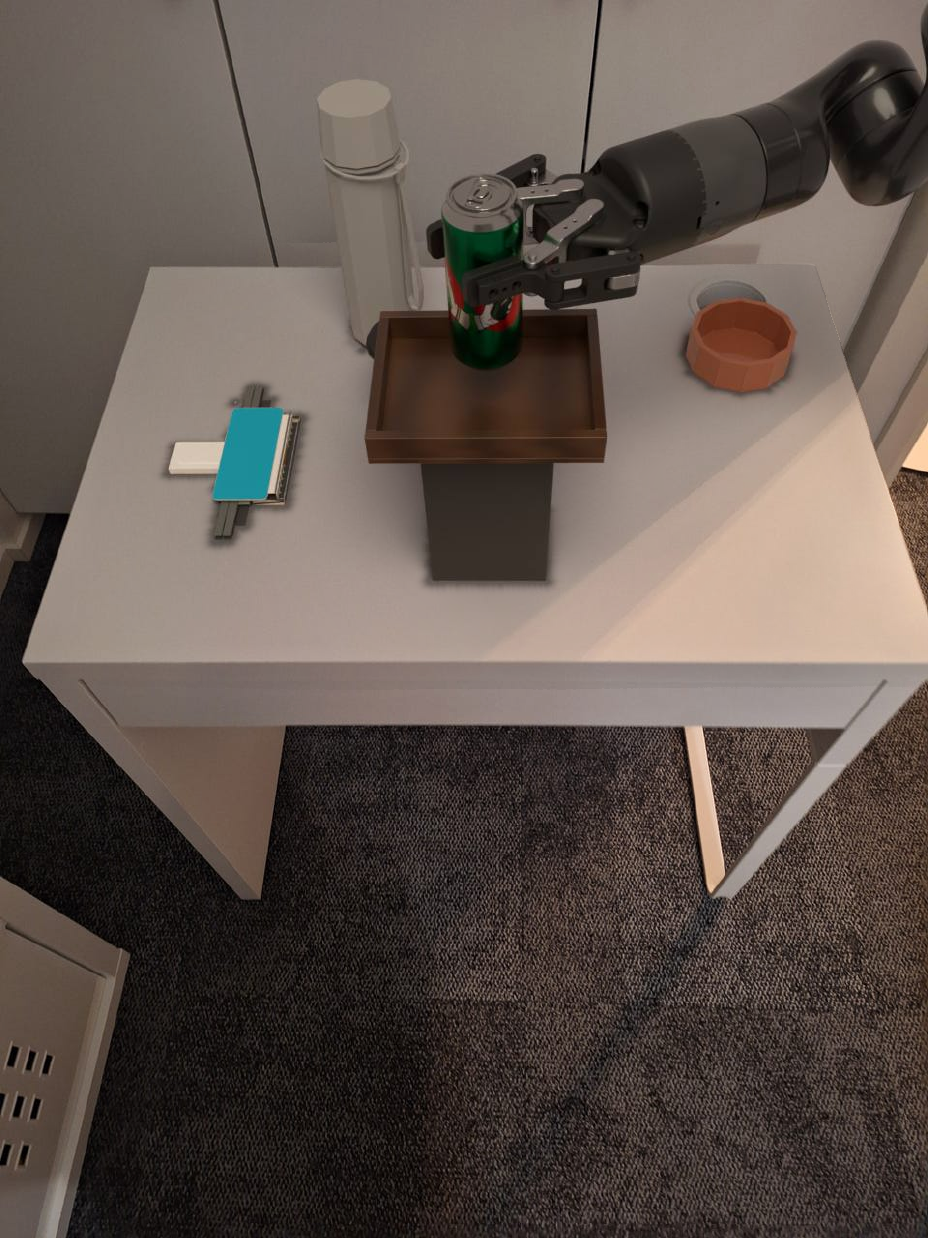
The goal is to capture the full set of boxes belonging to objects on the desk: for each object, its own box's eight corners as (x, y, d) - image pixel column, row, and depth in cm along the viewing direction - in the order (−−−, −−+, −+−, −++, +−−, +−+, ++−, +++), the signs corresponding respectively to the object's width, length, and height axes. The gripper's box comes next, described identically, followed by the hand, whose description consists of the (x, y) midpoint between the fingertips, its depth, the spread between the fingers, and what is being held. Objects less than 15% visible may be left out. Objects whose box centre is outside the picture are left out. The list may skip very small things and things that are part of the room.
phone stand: (193, 390, 96) (189, 378, 95) (306, 389, 95) (303, 377, 94) (152, 540, 85) (146, 528, 84) (279, 540, 84) (275, 528, 83)
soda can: (533, 337, 66) (537, 178, 55) (505, 383, 63) (503, 225, 53) (469, 320, 67) (461, 162, 57) (439, 364, 64) (425, 207, 54)
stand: (544, 511, 85) (552, 359, 70) (545, 581, 81) (555, 434, 66) (437, 512, 86) (423, 360, 71) (433, 581, 81) (417, 435, 66)
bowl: (794, 336, 97) (803, 309, 94) (777, 400, 92) (786, 373, 89) (699, 317, 100) (705, 290, 97) (677, 378, 94) (682, 351, 92)
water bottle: (336, 341, 100) (292, 107, 79) (377, 301, 103) (346, 67, 82) (406, 370, 97) (380, 134, 76) (446, 327, 100) (432, 91, 79)
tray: (594, 334, 72) (597, 308, 70) (604, 463, 64) (607, 437, 62) (383, 336, 72) (379, 310, 70) (368, 463, 65) (364, 438, 63)
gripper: (627, 84, 62) (396, 154, 58) (752, 192, 54) (496, 279, 51) (617, 188, 68) (407, 257, 65) (727, 298, 61) (497, 382, 57)
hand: (447, 266), depth 58 cm, fingers closed on soda can, 5 cm apart
